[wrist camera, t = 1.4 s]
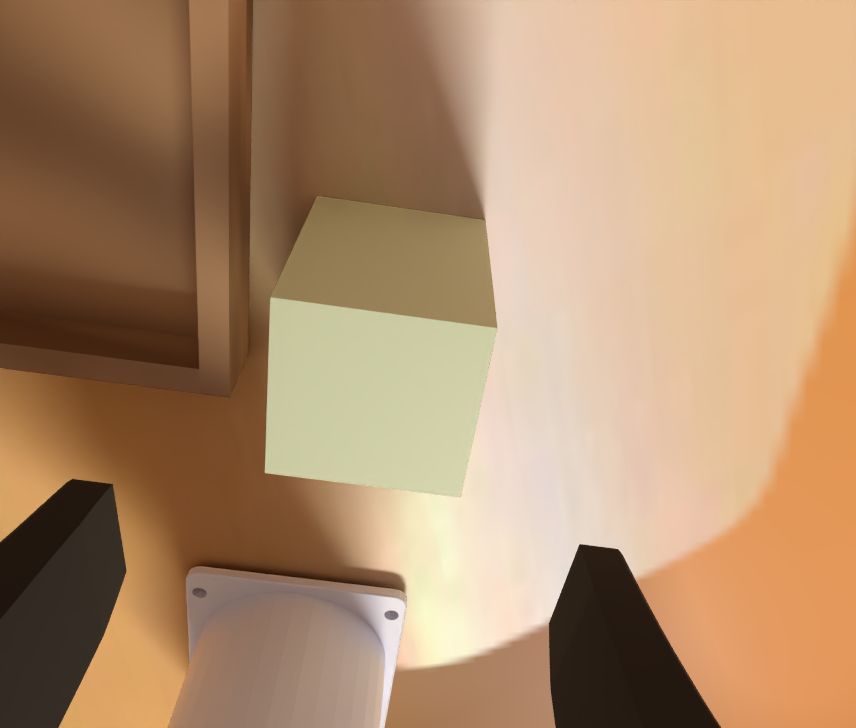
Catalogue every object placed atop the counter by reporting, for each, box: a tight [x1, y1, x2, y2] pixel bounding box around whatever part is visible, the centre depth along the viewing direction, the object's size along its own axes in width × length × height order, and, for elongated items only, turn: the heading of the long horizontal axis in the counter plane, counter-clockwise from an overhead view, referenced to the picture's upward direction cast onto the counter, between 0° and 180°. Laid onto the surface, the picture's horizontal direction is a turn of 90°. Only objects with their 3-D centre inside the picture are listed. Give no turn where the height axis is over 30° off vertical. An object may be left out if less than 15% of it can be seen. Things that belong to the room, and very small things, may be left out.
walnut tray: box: [0, 0, 253, 398], centre depth 18 cm, size 12×11×2 cm
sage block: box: [265, 196, 497, 497], centre depth 18 cm, size 4×4×6 cm
